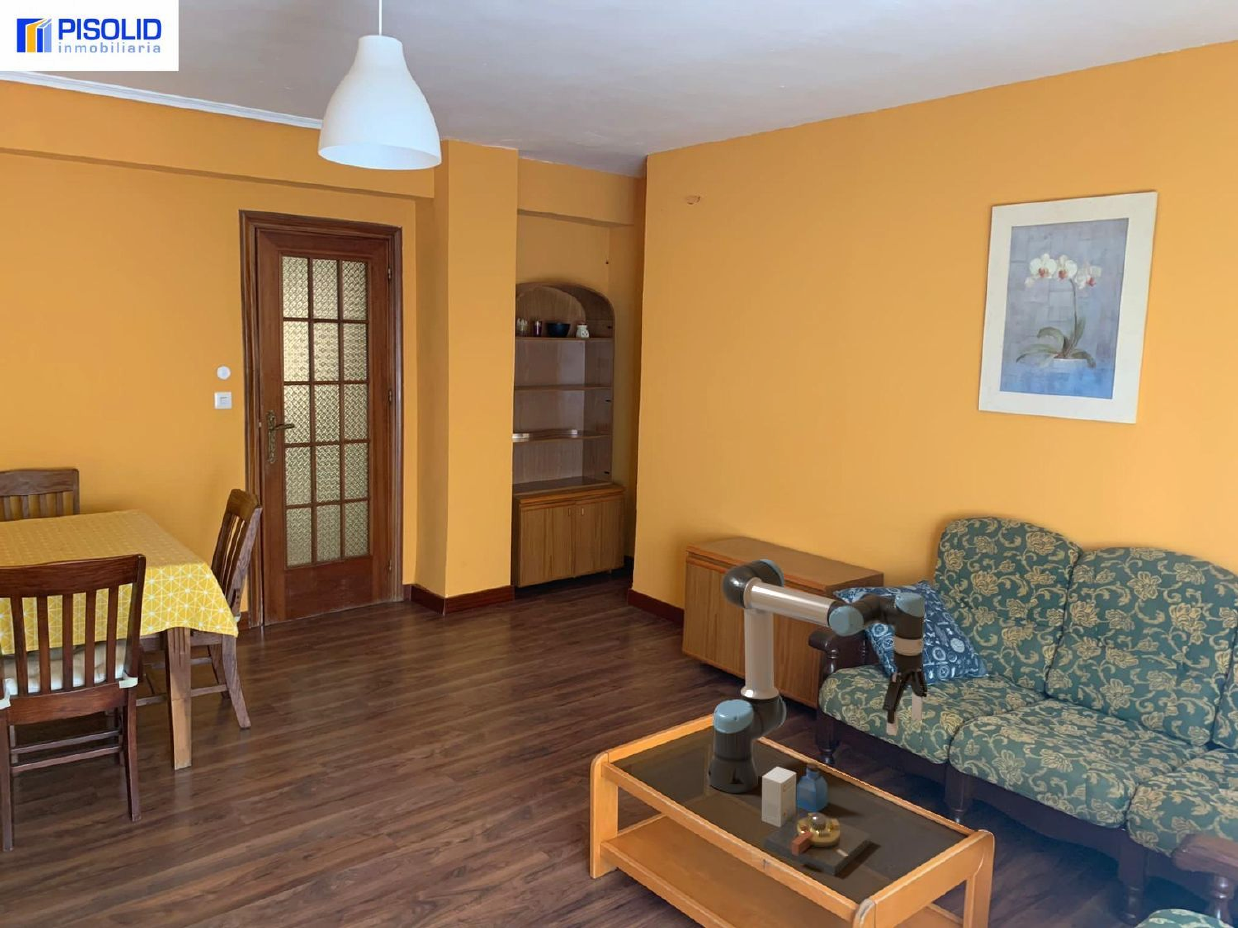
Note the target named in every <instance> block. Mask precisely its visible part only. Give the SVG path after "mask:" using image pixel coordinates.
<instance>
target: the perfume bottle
mask: <svg viewBox="0 0 1238 928" xmlns="http://www.w3.org/2000/svg"><path fill="white" fill-rule="evenodd" d="M819 774H820V770H819V765H818V764H817V763H814V762H810V763H807V765H806V774H805V775H803V776H802V777H801V778H800V780H799V782H798V783H796V807H798V808H800V809H802V810H807V811H810V812H813V813H819V812H820V811H821V810H823V809H824V808H825V807H827V806H828V790H829V789H828V786H829V785H828V782H826V780H825V778H824V777H823V776H822V775H819Z"/></svg>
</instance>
